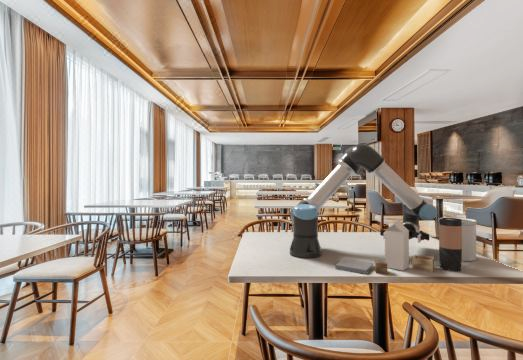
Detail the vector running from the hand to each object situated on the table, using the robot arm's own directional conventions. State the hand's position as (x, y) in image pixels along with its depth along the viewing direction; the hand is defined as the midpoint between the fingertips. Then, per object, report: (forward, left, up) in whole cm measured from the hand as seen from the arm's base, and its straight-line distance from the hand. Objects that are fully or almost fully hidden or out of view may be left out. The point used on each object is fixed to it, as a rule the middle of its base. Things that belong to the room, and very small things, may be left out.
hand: (400, 237), depth 125 cm
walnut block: (-4, -20, -11) cm, 23 cm away
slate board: (-14, -20, -10) cm, 26 cm away
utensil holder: (+20, +22, -11) cm, 32 cm away
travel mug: (+18, 0, -11) cm, 21 cm away
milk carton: (0, -10, -11) cm, 14 cm away
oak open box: (+9, -4, -11) cm, 15 cm away
